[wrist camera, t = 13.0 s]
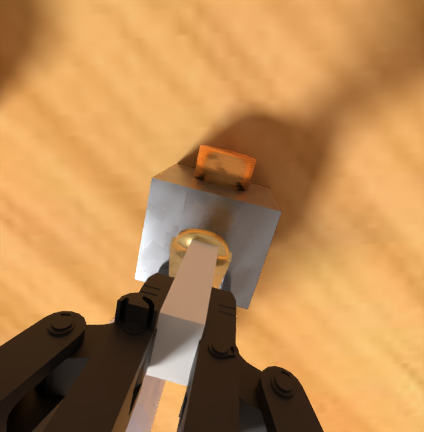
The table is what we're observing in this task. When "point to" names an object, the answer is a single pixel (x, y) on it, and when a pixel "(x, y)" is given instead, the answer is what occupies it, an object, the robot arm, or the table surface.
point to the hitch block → (209, 225)
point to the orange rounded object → (224, 167)
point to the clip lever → (185, 237)
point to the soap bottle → (146, 404)
